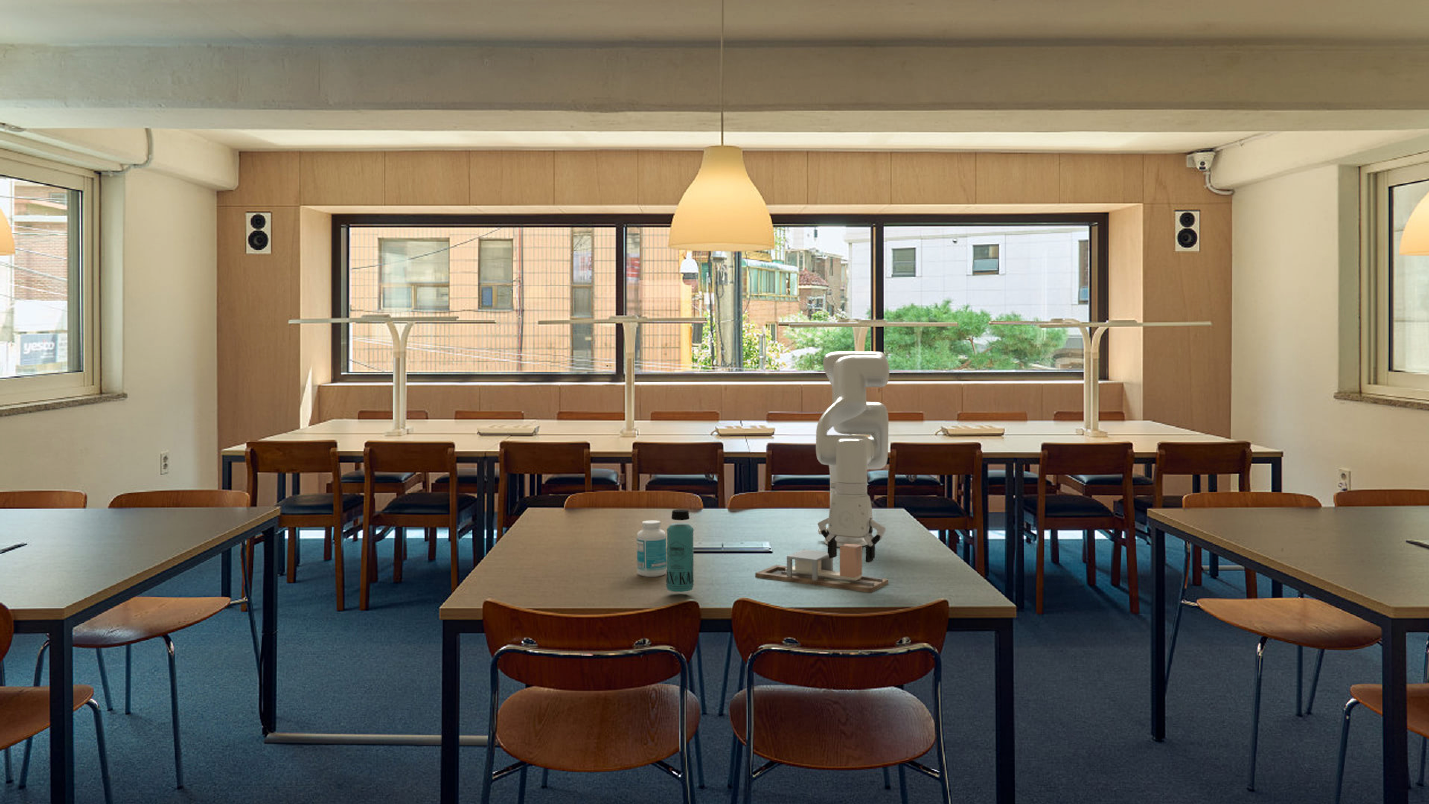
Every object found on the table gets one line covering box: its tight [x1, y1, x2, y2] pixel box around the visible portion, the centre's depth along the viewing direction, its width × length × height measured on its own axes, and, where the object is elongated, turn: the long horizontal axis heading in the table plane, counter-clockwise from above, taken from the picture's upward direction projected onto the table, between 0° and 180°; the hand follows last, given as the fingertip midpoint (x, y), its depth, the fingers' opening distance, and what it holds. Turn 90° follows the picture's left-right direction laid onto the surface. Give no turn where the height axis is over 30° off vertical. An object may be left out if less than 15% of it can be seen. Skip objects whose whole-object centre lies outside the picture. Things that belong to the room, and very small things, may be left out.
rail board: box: [754, 564, 889, 594], centre depth 243 cm, size 31×11×2 cm, turn 58°
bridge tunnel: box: [786, 549, 834, 580], centre depth 244 cm, size 8×10×5 cm
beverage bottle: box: [665, 508, 695, 593], centre depth 227 cm, size 6×7×20 cm
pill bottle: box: [636, 519, 667, 578], centre depth 249 cm, size 8×7×14 cm
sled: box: [785, 544, 863, 580], centre depth 242 cm, size 19×5×8 cm, turn 58°
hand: (850, 559), depth 238 cm, fingers open, 9 cm apart
